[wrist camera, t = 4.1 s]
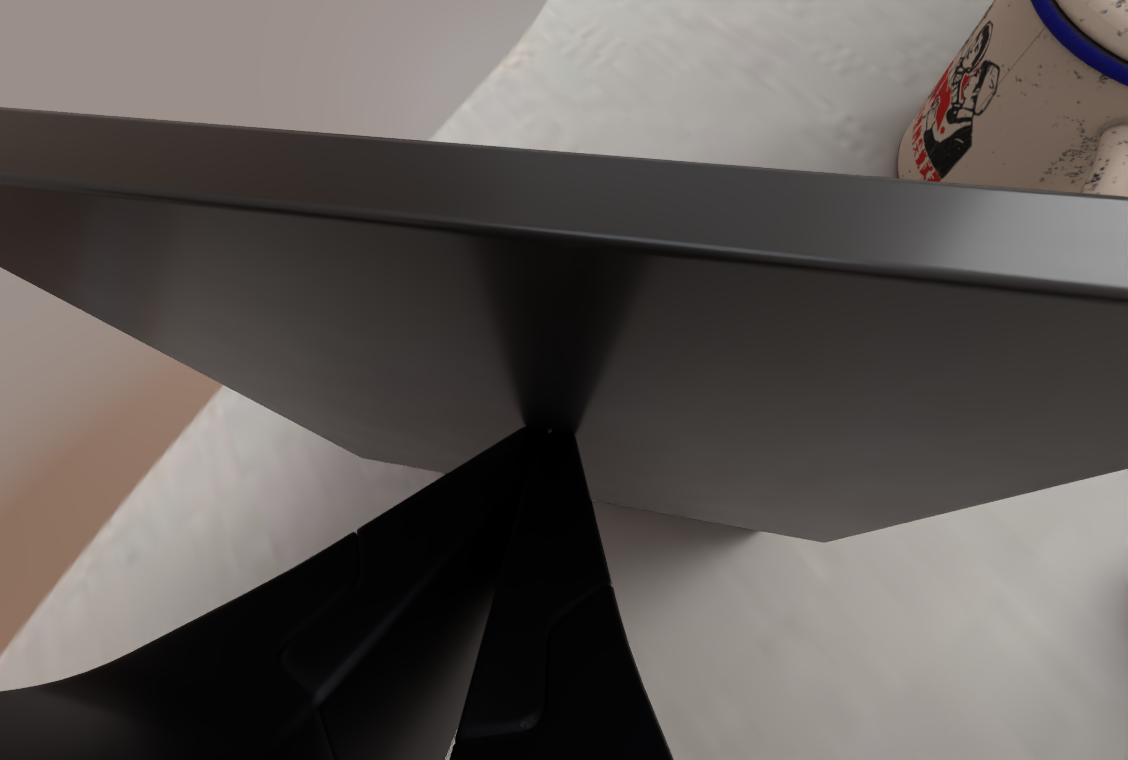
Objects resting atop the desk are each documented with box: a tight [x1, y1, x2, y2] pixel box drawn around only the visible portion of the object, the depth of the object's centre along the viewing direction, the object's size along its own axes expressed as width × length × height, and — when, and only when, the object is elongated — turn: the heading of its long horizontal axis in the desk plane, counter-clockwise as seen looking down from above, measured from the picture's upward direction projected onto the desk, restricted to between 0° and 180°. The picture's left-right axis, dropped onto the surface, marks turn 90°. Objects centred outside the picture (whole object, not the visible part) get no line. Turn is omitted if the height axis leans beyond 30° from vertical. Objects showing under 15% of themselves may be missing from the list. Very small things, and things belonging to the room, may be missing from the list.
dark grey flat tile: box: [0, 107, 1128, 542], centre depth 9 cm, size 11×13×1 cm
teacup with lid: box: [898, 0, 1128, 197], centre depth 17 cm, size 12×9×12 cm
